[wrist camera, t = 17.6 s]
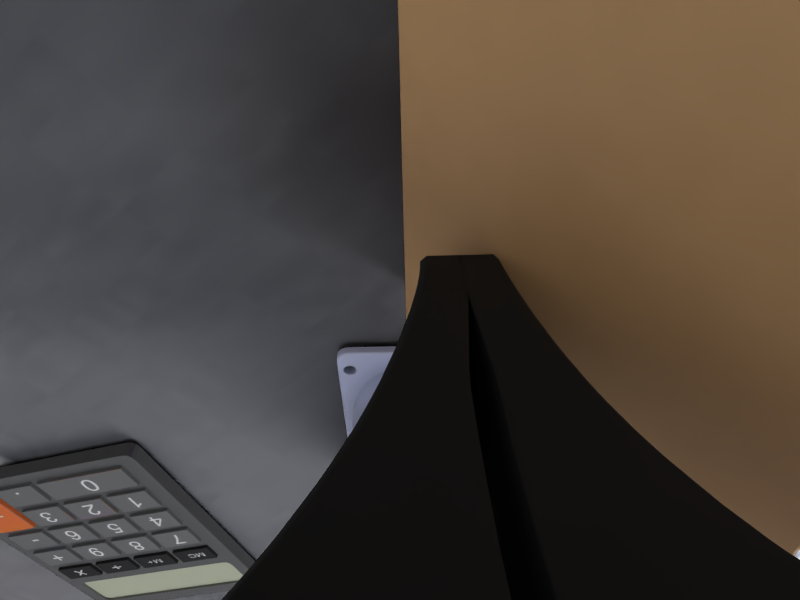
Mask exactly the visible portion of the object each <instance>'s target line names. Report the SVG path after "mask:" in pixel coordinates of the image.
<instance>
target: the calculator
mask: <svg viewBox="0 0 800 600" xmlns="http://www.w3.org/2000/svg"><path fill="white" fill-rule="evenodd" d="M0 539H1V540H3V541H4V542H6V543H8V544H9V545H11V546H12V547H14V548H15V549H17V550H18V551H20V552H21V553H23V554H25V555H26V556H28V557H29V558H31V559H32V560H34V561H35V562H37V563H38V564H40V565H42V566H43V567H45V568H46V569H48V570H49V571H51V572H52V573H54V574H56V575H57V576H59V577H60V578H62V579H63V580H65V581H66V582H68V583H69V584H71V585H73V586H74V587H76V588H77V589H79V590H80V591H82V592H83V593H85V594H86V595H88V596H90V597H91V598H93V599H94V600H166V599H174V598H181V597H189V596H196V595H203V594H211V593H218V592H225V591H230V590H231V589H232V587H233V586H234V585H235V584H236V583H237V582H238V581H239V579H240V578H241V577H242V576H243V575H244V574H245V573H246V572H247V570H248V569H249V568H250V567H251V566H252V565H253V564H254V562H255V561H254V560H253V559H252V558H251V557H250V556H249V555H248V554H247V553H246V552H245V551H244V550H243V549H242V548H241V547H240V546H239V545H238V544H237V543H236V542H235V541H234V540H233V539H232V538H231V537H230V536H229V535H228V534H227V533H226V532H225V531H224V530H223V529H222V528H221V527H220V526H219V525H218V524H217V523H216V522H215V521H214V520H213V519H212V518H211V517H210V516H209V515H208V514H207V513H206V512H205V511H204V510H203V509H202V508H201V507H200V506H199V505H198V504H197V503H196V502H195V501H194V500H193V499H192V498H191V497H190V496H189V495H188V494H187V493H186V492H185V491H184V490H183V489H182V488H181V487H180V486H179V485H178V484H177V483H176V482H175V481H174V480H173V479H172V478H171V477H170V476H169V475H168V474H167V473H166V472H165V471H164V470H163V469H162V468H161V467H160V466H159V465H158V464H157V463H156V462H155V461H154V460H153V459H152V458H151V457H150V456H149V455H148V454H147V453H146V452H145V451H144V450H143V449H142V448H141V447H140V446H139V445H137V444H135V443H132V442H131V443H122V444H117V445H112V446H107V447H102V448H97V449H92V450H86V451H81V452H76V453H71V454H66V455H61V456H56V457H51V458H45V459H40V460H35V461H30V462H25V463H20V464H15V465H10V466H4V467H0Z"/></svg>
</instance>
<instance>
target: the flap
mask: <svg viewBox="0 0 800 600" xmlns="http://www.w3.org/2000/svg"><path fill="white" fill-rule="evenodd" d="M398 26H399V64H400V102H401V140H402V179H403V217H404V255H405V294H406V320H407V317H408V314H409V311H410V309H411V305H412V302H413V299H414V295H415V292H416V288H417V284H418V279H419V272H420V261H421V260H422V259H423V258H425V257H426V256H437V255H479V254H494V255H495V256H496V257H497V258H498V259H499V260H500V262H501V264H502V266H503V268H504V269H505V271H506V273H507V274H508V276H509V278H510V279H511V281H512V282H513V284H514V286H515V287H516V289H517V290H518V292H519V293H520V295H521V296H522V298H523V299H524V301H525V302H526V304H527V305H528V306H529V308H530V309H531V311H532V312H533V313H534V315H535V316H536V318H537V319H538V320H539V322H540V323H541V324H542V326H543V327H544V328H545V329H546V331H547V332H548V333H549V335H550V336H551V337H552V339H553V340H554V341H555V343H556V344H557V345H558V346H559V348H560V349H561V350H562V351H563V353H564V354H565V355H566V356H567V357H568V359H569V360H570V361H571V362H572V363H573V364H574V366H575V367H576V368H577V369H578V370H579V371H580V373H581V374H582V375H583V376H584V377H585V378H586V379H587V381H588V382H589V383H590V384H591V385H592V386H593V387H594V388H595V389H596V390H597V391H598V393H599V394H600V395H601V396H602V397H603V398H604V399H605V400H606V401H607V402H608V403H609V404H610V405H611V406H612V407H613V408H614V409H615V410H616V411H617V412H618V413H619V414H620V415H621V416H622V417H623V418H624V419H625V420H626V421H627V422H628V423H629V424H630V425H631V426H632V427H633V428H634V429H635V430H636V431H637V432H639V433H640V434H641V435H642V436H643V437H644V438H645V439H646V440H647V441H648V442H649V443H650V444H652V445H653V446H654V447H655V448H656V449H657V450H658V451H659V452H660V453H661V454H662V455H664V456H665V457H666V458H667V459H668V460H670V461H671V462H672V463H673V464H674V465H676V466H677V467H678V468H679V469H680V470H682V471H683V472H684V473H685V474H686V475H688V476H689V477H690V478H691V479H693V480H694V481H695V482H696V483H697V484H699V485H700V486H701V487H702V488H703V489H705V490H706V491H707V492H708V493H709V494H711V495H712V496H713V497H714V498H715V499H717V500H718V501H719V502H720V503H722V504H723V505H724V506H726V507H727V508H728V509H730V510H731V511H732V512H734V513H735V514H736V515H738V516H739V517H740V518H742V519H743V520H744V521H746V522H747V523H748V524H750V525H751V526H752V527H754V528H755V529H756V530H758V531H759V532H760V533H762V534H763V535H764V536H766V537H767V538H768V539H770V540H771V541H773V542H774V543H775V544H777V545H778V546H780V547H781V548H783V549H784V550H786V551H787V552H789V553H790V554H792V555H793V556H794V555H795V554H796V553H797V552H798V551H799V550H800V0H398Z"/></svg>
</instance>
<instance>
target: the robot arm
mask: <svg viewBox="0 0 800 600" xmlns="http://www.w3.org/2000/svg"><path fill="white" fill-rule="evenodd" d="M347 366H353V367H347ZM337 367H338V374H339V381H340V388H341V395H342V402H343V409H344V416H345V423H346V430H347V437H348V438H347V439H346V441H345V442H344V444H343V446H342V447H341V449H340V450H339V452H338V453H337V455H336V456H335V458H334V459H333V461H332V463H331V464H330V465H329V467H328V468H327V470H326V471H325V473H324V474H323V476H322V477H321V478H320V480H319V481H318V483H317V484H316V485H315V487H314V488H313V489H312V491H311V492H310V493H309V495H308V496H307V497H306V499H305V500H304V501H303V502H302V504H301V505H300V506H299V508H298V509H297V510H296V512H295V513H294V514H293V516H292V517H291V518H290V519H289V521H288V522H287V523H286V525H285V526H284V527H283V529H282V530H281V531H280V533H279V534H278V535H277V536H276V538H275V539H274V540H273V541H272V542H271V544H270V545H269V546H268V547H267V549H266V550H265V551H264V552H263V553H262V554H261V556H260V557H259V558H258V559H257V560H256V561H255V562H254V564H253V565H252V566H251V567H250V568H249V569H248V570H247V572H246V573H245V574H244V575H243V576H242V577H241V578H240V579H239V581H238V582H237V583H236V584H235V585H234V586H233V587H232V589H231V590H230V591H229V592H228V593H227V594H226V595H225V597H224V598H223V599H222V600H800V560H799V559H797V558H796V557H795V556H793V555H792V554H790V553H789V552H787V551H786V550H784V549H783V548H781V547H780V546H778V545H777V544H775V543H774V542H773V541H771V540H770V539H768V538H767V537H766V536H764V535H763V534H762V533H760V532H759V531H758V530H756V529H755V528H754V527H752V526H751V525H750V524H748V523H747V522H746V521H744V520H743V519H742V518H740V517H739V516H738V515H736V514H735V513H734V512H732V511H731V510H730V509H728V508H727V507H726V506H724V505H723V504H722V503H720V502H719V501H718V500H717V499H715V498H714V497H713V496H712V495H711V494H709V493H708V492H707V491H706V490H705V489H703V488H702V487H701V486H700V485H699V484H697V483H696V482H695V481H694V480H693V479H691V478H690V477H689V476H688V475H686V474H685V473H684V472H683V471H682V470H680V469H679V468H678V467H677V466H676V465H674V464H673V463H672V462H671V461H670V460H668V459H667V458H666V457H665V456H664V455H662V454H661V453H660V452H659V451H658V450H657V449H656V448H655V447H654V446H653V445H652V444H650V443H649V442H648V441H647V440H646V439H645V438H644V437H643V436H642V435H641V434H640V433H639V432H637V431H636V430H635V429H634V428H633V427H632V426H631V425H630V424H629V423H628V422H627V421H626V420H625V419H624V418H623V417H622V416H621V415H620V414H619V413H618V412H617V411H616V410H615V409H614V408H613V407H612V406H611V405H610V404H609V403H608V402H607V401H606V400H605V399H604V398H603V397H602V396H601V395H600V394H599V393H598V391H597V390H596V389H595V388H594V387H593V386H592V385H591V384H590V383H589V382H588V381H587V379H586V378H585V377H584V376H583V375H582V374H581V373H580V371H579V370H578V369H577V368H576V367H575V366H574V364H573V363H572V362H571V361H570V360H569V359H568V357H567V356H566V355H565V354H564V353H563V351H562V350H561V349H560V348H559V346H558V345H557V344H556V343H555V341H554V340H553V339H552V337H551V336H550V335H549V333H548V332H547V331H546V329H545V328H544V327H543V326H542V324H541V323H540V322H539V320H538V319H537V318H536V316H535V315H534V313H533V312H532V311H531V309H530V308H529V306H528V305H527V304H526V302H525V301H524V299H523V298H522V296H521V295H520V293H519V292H518V290H517V289H516V287H515V286H514V284H513V282H512V281H511V279H510V278H509V276H508V274H507V273H506V271H505V269H504V268H503V266H502V264H501V262H500V260H499V259H498V258H497V257H496V256H495V255H494V254H479V255H437V256H426V257H425V258H423V259H422V260H421V261H420V272H419V279H418V284H417V288H416V292H415V295H414V299H413V302H412V305H411V309H410V311H409V314H408V317H407V320H406V322H405V325H404V328H403V330H402V333H401V336H400V338H399V341H398V343H397V345H396V346H385V347H347V348H343V349H341V350H340V351H339V352H338V355H337Z"/></svg>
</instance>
